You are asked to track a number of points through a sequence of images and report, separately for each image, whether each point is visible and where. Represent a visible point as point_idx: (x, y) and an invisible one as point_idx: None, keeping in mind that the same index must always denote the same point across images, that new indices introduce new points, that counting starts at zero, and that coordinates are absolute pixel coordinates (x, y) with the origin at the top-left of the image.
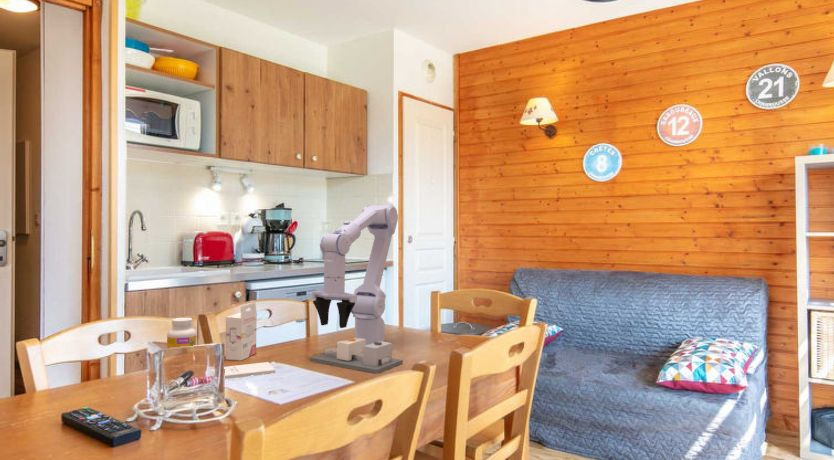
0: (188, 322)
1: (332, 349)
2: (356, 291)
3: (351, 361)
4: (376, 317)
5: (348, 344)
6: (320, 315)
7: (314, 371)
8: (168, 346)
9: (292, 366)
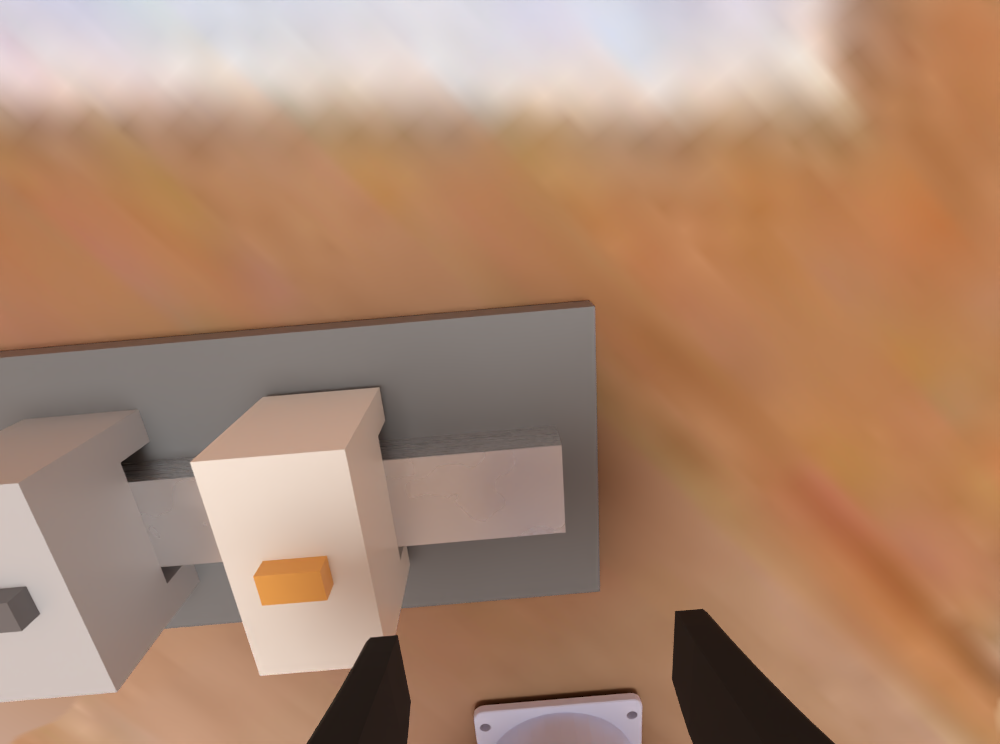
0: None
1: (518, 485)
2: None
3: None
4: None
5: (196, 459)
6: (767, 721)
7: (331, 96)
8: None
9: (588, 88)
